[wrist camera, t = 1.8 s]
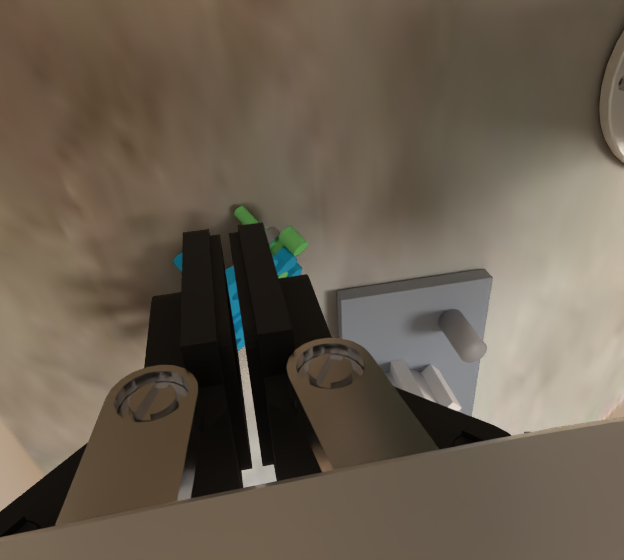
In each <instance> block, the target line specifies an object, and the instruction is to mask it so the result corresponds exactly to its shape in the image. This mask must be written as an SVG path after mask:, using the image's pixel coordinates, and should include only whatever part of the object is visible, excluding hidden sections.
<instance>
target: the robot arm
mask: <svg viewBox="0 0 624 560" xmlns="http://www.w3.org/2000/svg"><path fill="white" fill-rule="evenodd" d="M599 110H600V122H601V128H602V131H603V134H604V138H605V141H606V143H607V144H608V146H609V148H610V149H611V151H612V152H613V154H614V155H615V156H616V157H617V158H618V159H619V160H621V161H622V162H623V163H624V31H623V33H622V34H621V36H620V38H619V40H618V41H617V43H616V45H615V48H614V50H613V52H612V55H611V57H610V59H609V62H608V64H607V67H606V71H605V75H604V79H603V82H602V86H601V95H600V105H599ZM229 238H230V245H231V252H232V259H233V266H234V272H235V279H236V286H237V293H238V300H239V307H240V314H241V320H242V327H243V334H244V341H245V348H246V355H247V362H248V368H249V375H250V382H251V389H252V396H253V403H254V409H255V416H256V423H257V430H258V437H259V444H260V450H261V457H262V464H263V466H267V465H272V464H274V468H275V474H276V479H277V481H276V482H271V483H266V484H261V485H256V486H251V487H246V488H243V482H242V472H241V470H246V469H251V468H252V461H251V453H250V445H249V437H248V429H247V421H246V413H245V405H244V397H243V389H242V381H241V373H240V365H239V357H238V349H237V342H236V335H235V329H234V323H233V316H232V310H231V303H230V297H229V291H228V284H227V278H226V271H225V265H224V259H223V252H222V246H221V239H220V235H213V236H210V233H209V229H207V230H199V231H191V232H183V247H182V291H181V292H180V293H173V294H166V295H159V296H154V297H152V302H151V311H150V321H149V330H148V339H147V348H146V357H145V366H144V368H143V369H140V370H138V371H135V372H133V373H131V374H129V375H128V376H126V377H124V378H123V379H121V380H120V381H119V382H118V383H117V384H116V385H115V386H114V387H113V388H112V389H111V390H110V392H109V394H108V395H107V397H106V399H105V401H104V404H103V406H102V409H101V411H100V414H99V416H98V419H97V421H96V424H95V426H94V429H93V431H92V434H91V436H90V439H89V441H88V443H86V444H85V445H84V446H83V447H81V448H80V449H79V450H78V451H76V452H75V453H74V454H73V455H71V456H70V457H69V458H68V459H66V460H65V461H64V462H62V463H61V464H60V465H59V466H57V467H56V468H55V469H54V470H52V471H51V472H50V473H49V474H47V475H46V476H45V477H44V478H42V479H41V480H40V481H39V482H37V483H36V484H35V485H33V486H32V487H31V488H30V489H28V490H27V491H26V492H25V493H23V494H22V495H21V496H20V497H18V498H17V499H16V500H15V501H13V502H12V503H11V504H9V505H8V506H7V507H6V508H4V509H3V510H2V511H1V512H0V560H624V417H620V418H614V419H607V420H601V421H594V422H588V423H581V424H575V425H568V426H562V427H555V428H550V429H545V430H540V431H535V432H524V434H519V435H514V436H511V435H510V434H509V433H508V432H506V431H504V430H502V429H500V428H498V427H496V426H494V425H492V424H489V423H486V422H484V421H481V420H479V419H476V418H474V417H471V416H469V415H466V414H463V413H461V412H458V411H456V410H453V409H451V408H448V407H446V406H443V405H440V404H438V403H435V402H433V401H430V400H428V399H425V398H423V397H420V396H417V395H415V394H412V393H410V392H407V391H405V390H402V389H400V388H397V387H394V386H393V385H392V383H391V382H390V380H389V379H388V378H387V376H386V375H385V373H384V372H383V371H382V369H381V368H380V367H379V365H378V364H377V362H376V361H375V360H374V358H373V357H372V355H371V354H370V353H369V352H368V351H367V350H366V349H365V348H364V347H363V346H361V345H359V344H357V343H355V342H353V341H350V340H346V339H342V338H332V337H331V335H330V332H329V329H328V327H327V324H326V321H325V319H324V316H323V314H322V311H321V308H320V306H319V303H318V300H317V298H316V295H315V292H314V290H313V287H312V285H311V282H310V279H309V277H308V275H307V274H305V275H298V276H291V277H284V278H278V275H277V271H276V268H275V264H274V260H273V257H272V253H271V250H270V246H269V243H268V239H267V236H266V232H265V229H264V225H263V222H261V223H253V224H246V225H238V232H236V233H229Z"/></svg>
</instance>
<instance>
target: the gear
mask: <svg viewBox="0 0 624 560" xmlns="http://www.w3.org/2000/svg"><path fill="white" fill-rule="evenodd" d="M234 215H235V216H236V217H237V218H238V219H239V220H240V222H241V223H242V224H243V225H246V224H253V223H259V222H258V221H257V220H256V219H255V218H254V217H253V216H252V215H251V214H250V213H249V212H248V211H247V210H246V209H245V208H244V207H243V206H240V207H239V208H237V209H236V211H235V212H234ZM264 229H265V228H264ZM265 232H266V236H267V239H268V243H269V246H270V250H271V253H272V257H273V260H274V264H275V268H276V271H277V275H278V278H284V277H291V276H298V275H300V274H301V271H302V268H301V267H300V265H299V264H298V263H297V259H296V257H295V256H297V255H299V254H300V253H302V252H303V251H304V250H305V248H306V247H307V245H308V242H307V241H306V240H305V239H304V238H303V237H302V236H301V235H300V234H299V233H298V232H297V231H296V230H295V229H294V228H293V227H292V226H289V227H287V228H285V229H284V230H283V231H282V232H281V233H280V232H279V231H278V230H277V229H276V228H275V227H271V228H269V229H267V230H266V229H265ZM173 263H174V264H175V265H176V266H177V268H178V269H179V270H180V271H181V272H182V253H180V254H179V255H177V256H176V258H175V259H174V261H173ZM225 271H226V278H227V284H228V291H229V297H230V303H231V310H232V316H233V323H234V329H235V335H236V342H237V349H238V350H240V349H241V348H242V347H244V345H245V341H244V334H243V327H242V320H241V314H240V307H239V300H238V293H237V286H236V279H235V272H234V266H233V265H232V266H231V267H230V268H228V269H226V270H225Z"/></svg>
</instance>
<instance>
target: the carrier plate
mask: <svg viewBox="0 0 624 560" xmlns="http://www.w3.org/2000/svg"><path fill="white" fill-rule="evenodd" d="M492 278H493V277H492V276H491V275H490V274H489V273H488V272H487V271H486V270H485V269H480V270H473V271H466V272H460V273H453V274H446V275H440V276H433V277H426V278H419V279H413V280H406V281H399V282H392V283H386V284H379V285H372V286H365V287H359V288H352V289H345V290H338V291H337V305H338V338H342V339H346V340H350V341H353V342H355V343H357V344H359V345H361V346H363V347H364V348H365V349H366V350H367V351H368V352H369V353H370V354H371V355H372V357H373V358H374V360H375V361H376V362H377V364H378V365H379V367H380V368H381V369H382V371H383V372H384V373H385V375H386V376H387V378H388V379H389V380H390V382H391V383H392V385H393V386H394V387H397V388H400V389H402V390H405V391H407V392H410V393H412V394H415V395H417V396H420V397H423V398H425V399H428V400H430V401H433V402H435V403H438V404H440V405H443V406H446V407H448V408H451V409H453V410H456V411H458V412H461V413H463V414H466V415H469V416H471V417H472V410H473V404H474V397H475V390H476V384H477V377H478V371H479V364H480V359H481V358H482V357H483V356H484V355H485V353H486V350H487V346H486V344H485V343H484V341H483V338H484V331H485V324H486V318H487V311H488V305H489V298H490V291H491V285H492Z"/></svg>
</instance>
